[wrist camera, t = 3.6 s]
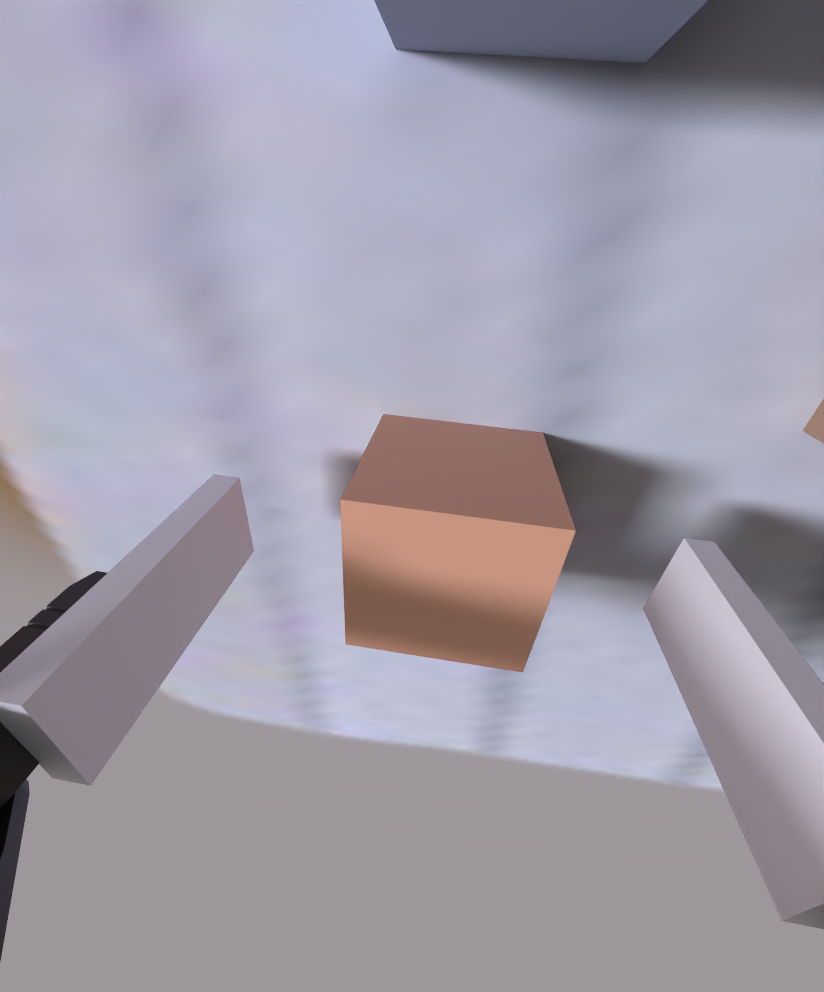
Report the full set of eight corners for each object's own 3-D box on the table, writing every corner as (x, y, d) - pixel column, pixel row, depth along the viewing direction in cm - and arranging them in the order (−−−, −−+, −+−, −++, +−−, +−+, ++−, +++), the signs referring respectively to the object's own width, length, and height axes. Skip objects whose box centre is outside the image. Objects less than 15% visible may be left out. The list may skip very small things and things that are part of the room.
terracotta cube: (542, 431, 12) (576, 530, 8) (509, 552, 15) (522, 672, 11) (383, 413, 13) (340, 499, 9) (380, 534, 16) (346, 644, 11)
